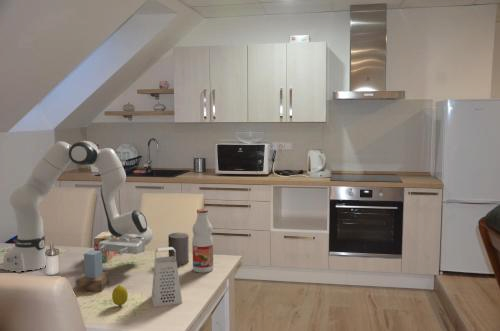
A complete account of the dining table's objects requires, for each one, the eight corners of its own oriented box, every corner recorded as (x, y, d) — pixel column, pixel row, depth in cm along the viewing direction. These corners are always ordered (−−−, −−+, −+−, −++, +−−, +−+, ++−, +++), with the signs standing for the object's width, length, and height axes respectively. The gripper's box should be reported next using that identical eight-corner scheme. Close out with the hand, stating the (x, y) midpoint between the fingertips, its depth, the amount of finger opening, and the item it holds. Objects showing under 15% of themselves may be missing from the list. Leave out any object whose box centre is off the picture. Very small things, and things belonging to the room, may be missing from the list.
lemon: (114, 303, 176) (113, 282, 175) (129, 303, 176) (128, 282, 176) (111, 309, 170) (110, 288, 170) (126, 308, 171) (125, 287, 170)
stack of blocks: (109, 250, 248) (108, 227, 247) (121, 250, 248) (120, 227, 247) (94, 262, 227) (93, 237, 226) (107, 262, 227) (106, 237, 226)
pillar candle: (164, 262, 225) (163, 232, 224) (180, 258, 232) (180, 228, 231) (177, 267, 219) (176, 236, 217) (193, 262, 226) (192, 232, 224)
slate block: (84, 277, 191) (83, 253, 190) (92, 273, 196) (91, 250, 195) (95, 278, 190) (94, 254, 189) (102, 274, 195) (101, 251, 193)
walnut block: (76, 292, 188) (76, 280, 188) (85, 284, 198) (84, 272, 198) (101, 292, 188) (101, 280, 188) (108, 283, 198) (108, 272, 198)
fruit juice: (217, 269, 215) (216, 209, 212) (201, 274, 208) (200, 212, 205) (205, 265, 221) (204, 206, 219) (188, 269, 215) (187, 209, 212)
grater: (182, 303, 176) (181, 251, 174) (153, 306, 173) (152, 253, 171) (178, 293, 186) (177, 244, 184) (151, 296, 183) (150, 246, 181)
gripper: (109, 234, 219) (89, 242, 206) (147, 238, 212) (129, 246, 199) (109, 247, 220) (90, 256, 207) (147, 251, 213) (129, 260, 200)
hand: (109, 251), depth 203 cm, fingers open, 8 cm apart
